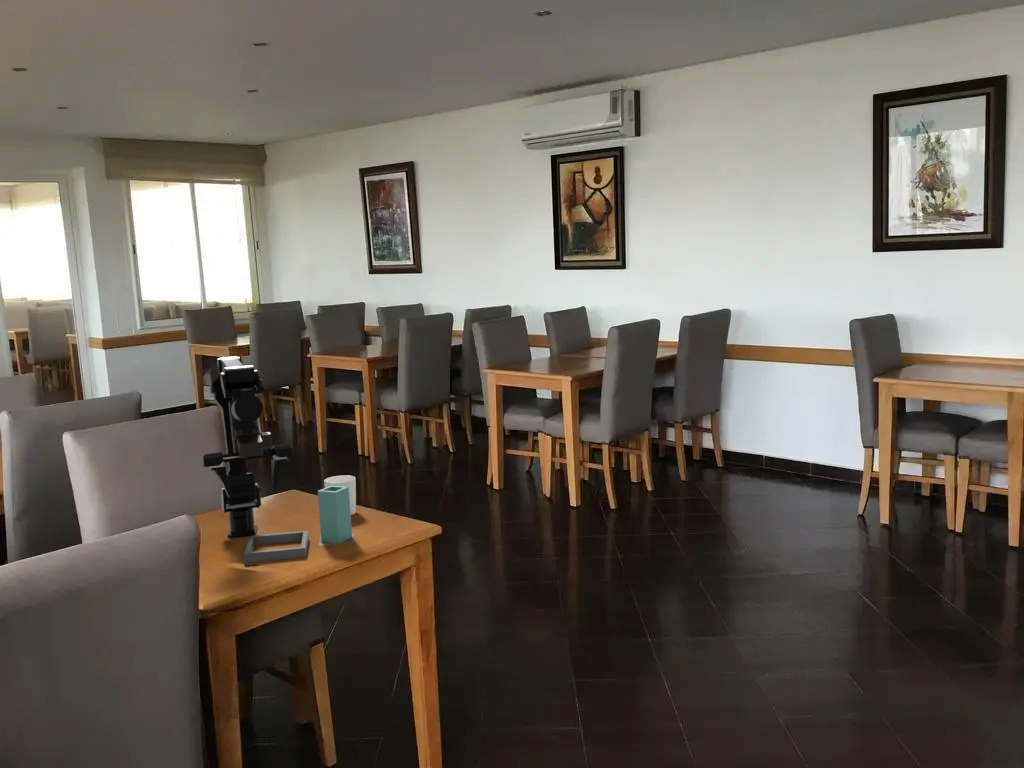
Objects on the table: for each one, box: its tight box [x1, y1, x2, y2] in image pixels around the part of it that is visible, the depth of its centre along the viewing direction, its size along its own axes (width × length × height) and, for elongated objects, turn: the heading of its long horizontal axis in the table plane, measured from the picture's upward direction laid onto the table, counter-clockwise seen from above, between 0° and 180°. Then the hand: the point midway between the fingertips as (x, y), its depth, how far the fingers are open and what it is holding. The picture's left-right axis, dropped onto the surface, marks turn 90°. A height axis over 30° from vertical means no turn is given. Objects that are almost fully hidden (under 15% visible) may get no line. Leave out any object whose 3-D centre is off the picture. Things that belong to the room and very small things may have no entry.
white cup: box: [323, 474, 357, 516], centre depth 221 cm, size 8×8×10 cm
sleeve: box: [317, 486, 353, 545], centre depth 199 cm, size 5×5×12 cm
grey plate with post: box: [318, 532, 355, 547], centre depth 200 cm, size 8×8×4 cm
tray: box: [243, 530, 310, 568], centre depth 194 cm, size 13×13×3 cm
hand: (252, 495), depth 187 cm, fingers open, 9 cm apart
